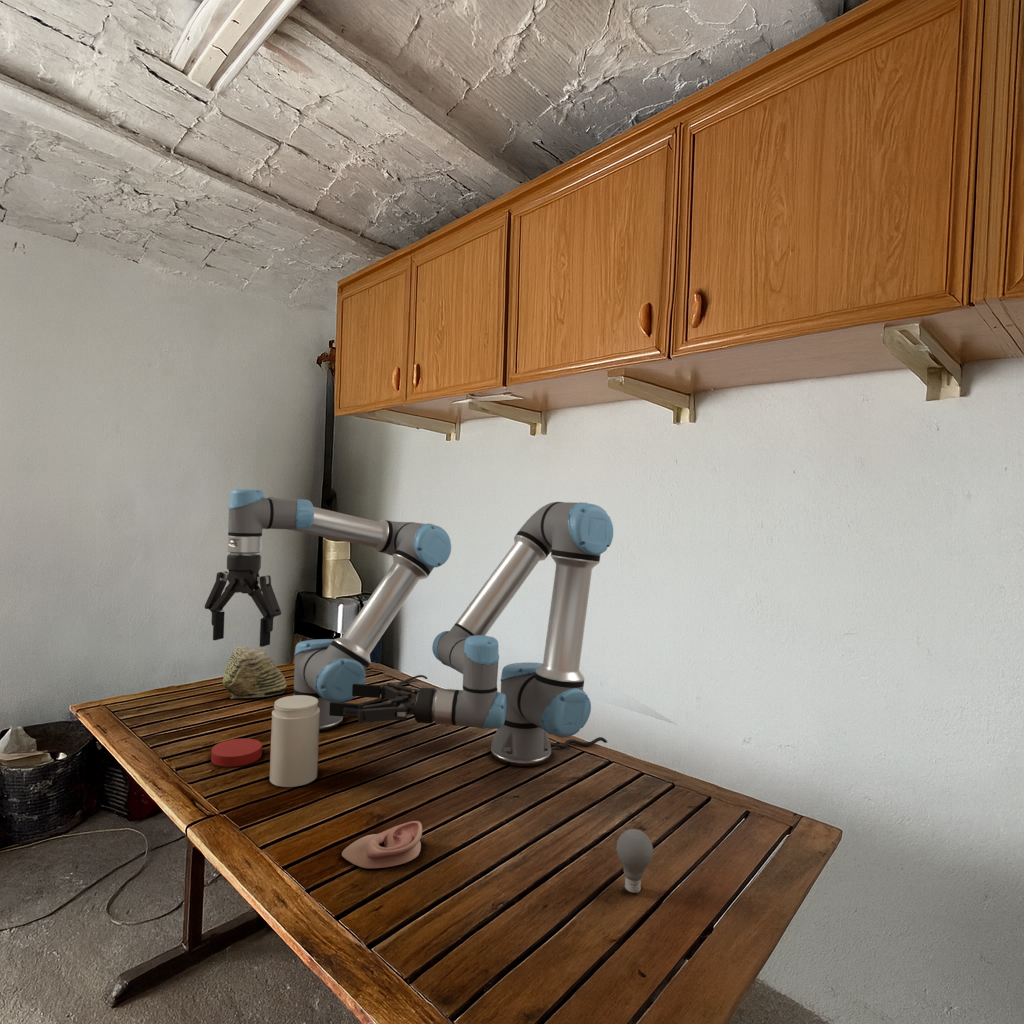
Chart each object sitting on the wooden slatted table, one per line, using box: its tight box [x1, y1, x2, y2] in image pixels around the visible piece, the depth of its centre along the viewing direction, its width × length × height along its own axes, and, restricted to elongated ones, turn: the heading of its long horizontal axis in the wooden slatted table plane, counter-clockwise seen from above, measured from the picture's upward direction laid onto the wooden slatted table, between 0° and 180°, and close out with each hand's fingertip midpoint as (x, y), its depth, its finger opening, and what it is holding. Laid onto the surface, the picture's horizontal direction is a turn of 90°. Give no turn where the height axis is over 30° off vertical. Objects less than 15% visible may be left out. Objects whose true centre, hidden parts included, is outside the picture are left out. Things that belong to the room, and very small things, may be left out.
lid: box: [210, 737, 263, 768], centre depth 152 cm, size 11×11×2 cm
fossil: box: [222, 646, 288, 699], centre depth 198 cm, size 9×18×15 cm, turn 132°
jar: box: [268, 695, 320, 788], centre depth 142 cm, size 10×10×17 cm
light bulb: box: [615, 828, 654, 894], centre depth 106 cm, size 6×6×10 cm
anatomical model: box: [341, 820, 423, 870], centre depth 114 cm, size 13×4×12 cm
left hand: (241, 642), depth 151 cm, fingers open, 13 cm apart
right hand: (341, 698), depth 141 cm, fingers open, 13 cm apart
